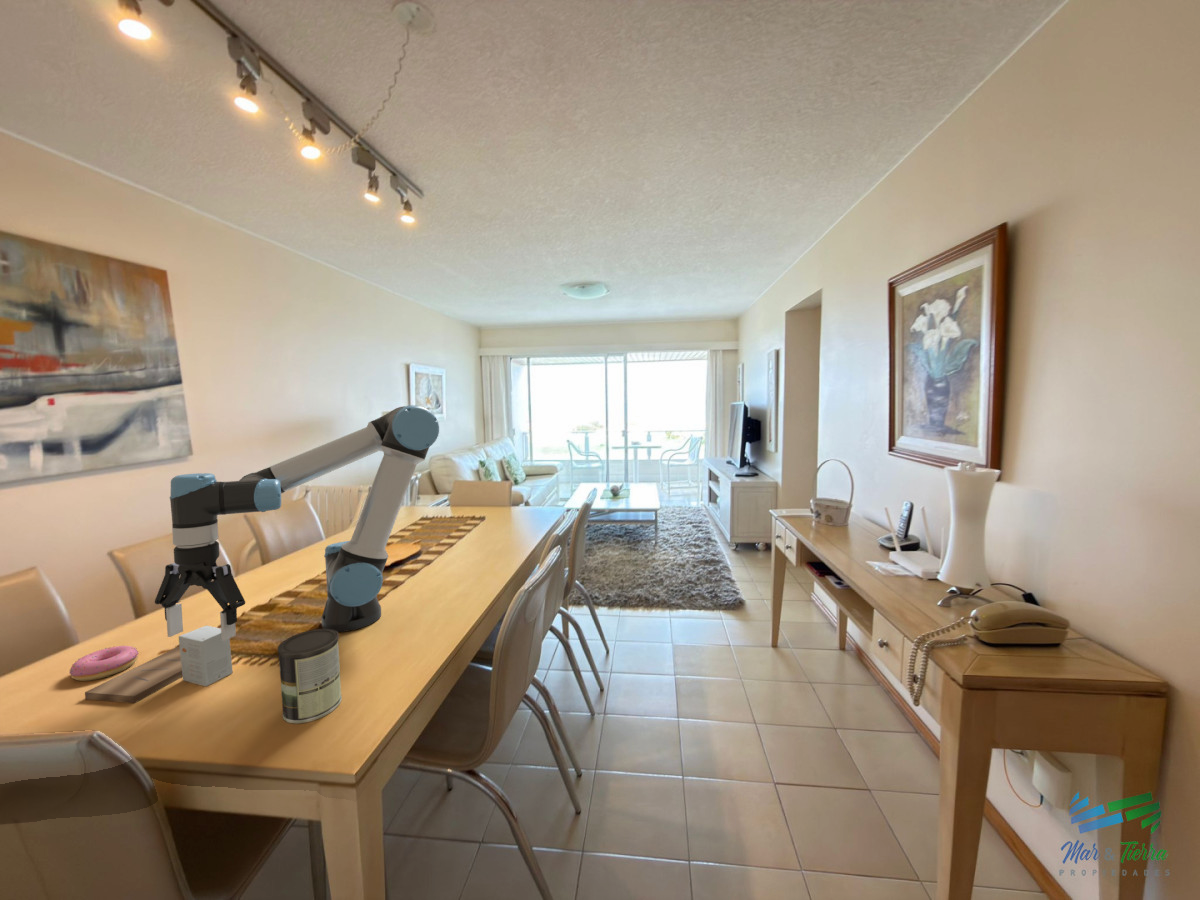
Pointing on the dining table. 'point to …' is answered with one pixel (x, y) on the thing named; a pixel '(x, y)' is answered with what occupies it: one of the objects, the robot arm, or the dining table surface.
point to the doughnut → (103, 663)
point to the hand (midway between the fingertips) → (201, 636)
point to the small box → (205, 656)
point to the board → (140, 679)
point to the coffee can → (309, 675)
